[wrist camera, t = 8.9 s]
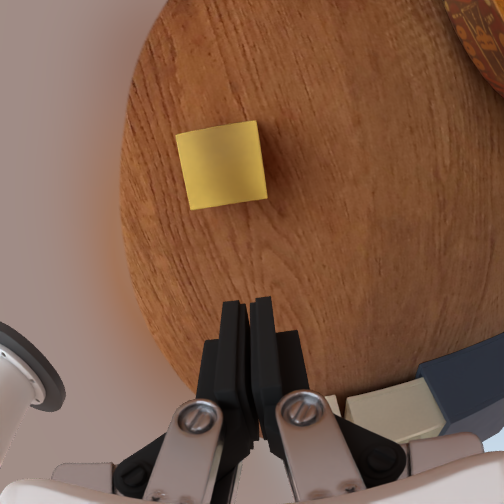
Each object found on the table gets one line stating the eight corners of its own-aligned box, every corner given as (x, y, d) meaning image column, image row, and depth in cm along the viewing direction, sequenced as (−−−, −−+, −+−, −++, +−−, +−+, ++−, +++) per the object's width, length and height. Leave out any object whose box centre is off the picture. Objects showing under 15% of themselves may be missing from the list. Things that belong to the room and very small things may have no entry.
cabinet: (398, 421, 36) (416, 472, 27) (419, 363, 30) (451, 424, 21) (475, 391, 35) (499, 432, 26) (504, 331, 29) (539, 375, 21)
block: (201, 192, 21) (190, 210, 17) (189, 131, 19) (175, 134, 15) (263, 182, 21) (268, 198, 17) (254, 120, 19) (256, 120, 15)
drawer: (287, 449, 35) (292, 495, 28) (280, 403, 30) (287, 462, 23) (414, 419, 35) (430, 459, 28) (436, 367, 29) (463, 413, 22)
